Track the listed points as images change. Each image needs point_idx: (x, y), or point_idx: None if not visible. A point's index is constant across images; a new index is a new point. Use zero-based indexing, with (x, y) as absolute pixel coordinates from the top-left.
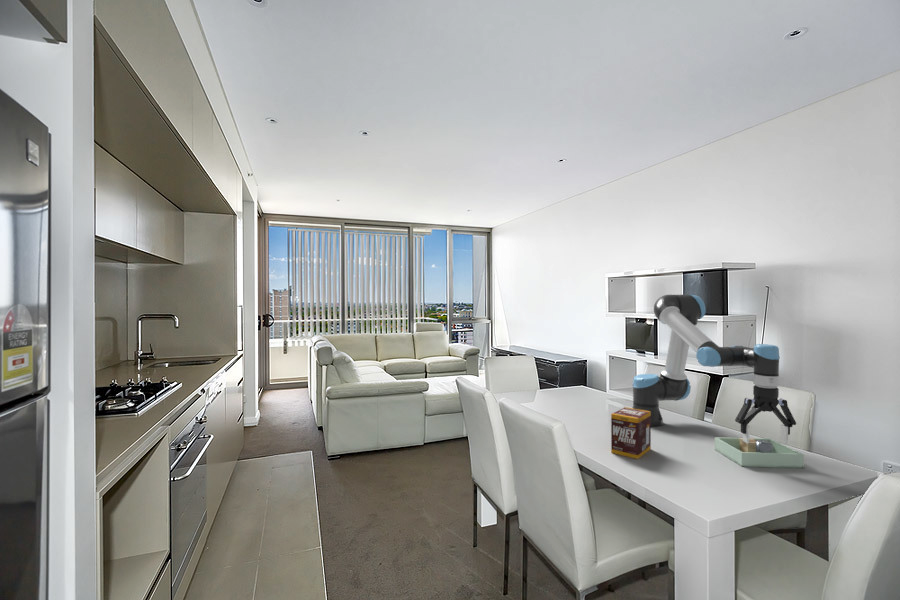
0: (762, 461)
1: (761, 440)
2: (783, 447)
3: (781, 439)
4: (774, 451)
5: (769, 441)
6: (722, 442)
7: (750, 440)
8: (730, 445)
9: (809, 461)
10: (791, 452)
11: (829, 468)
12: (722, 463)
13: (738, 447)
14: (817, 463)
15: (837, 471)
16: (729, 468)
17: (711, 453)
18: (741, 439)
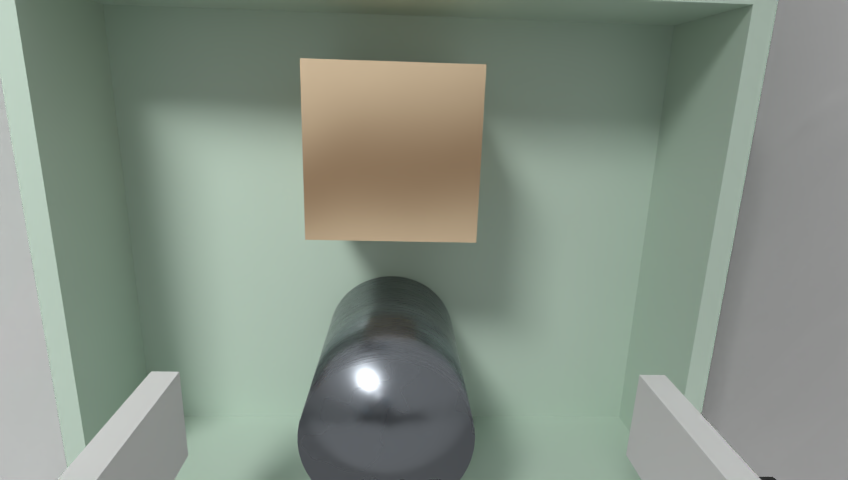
0: None
1: (399, 382)
2: (694, 261)
3: (655, 410)
4: (668, 105)
5: (731, 10)
6: (19, 155)
7: (396, 149)
8: (58, 294)
9: (811, 279)
10: (669, 367)
11: (821, 413)
12: (8, 365)
13: (338, 9)
14: (833, 320)
15: (821, 462)
16: (22, 461)
17: (5, 109)
18: (302, 97)
